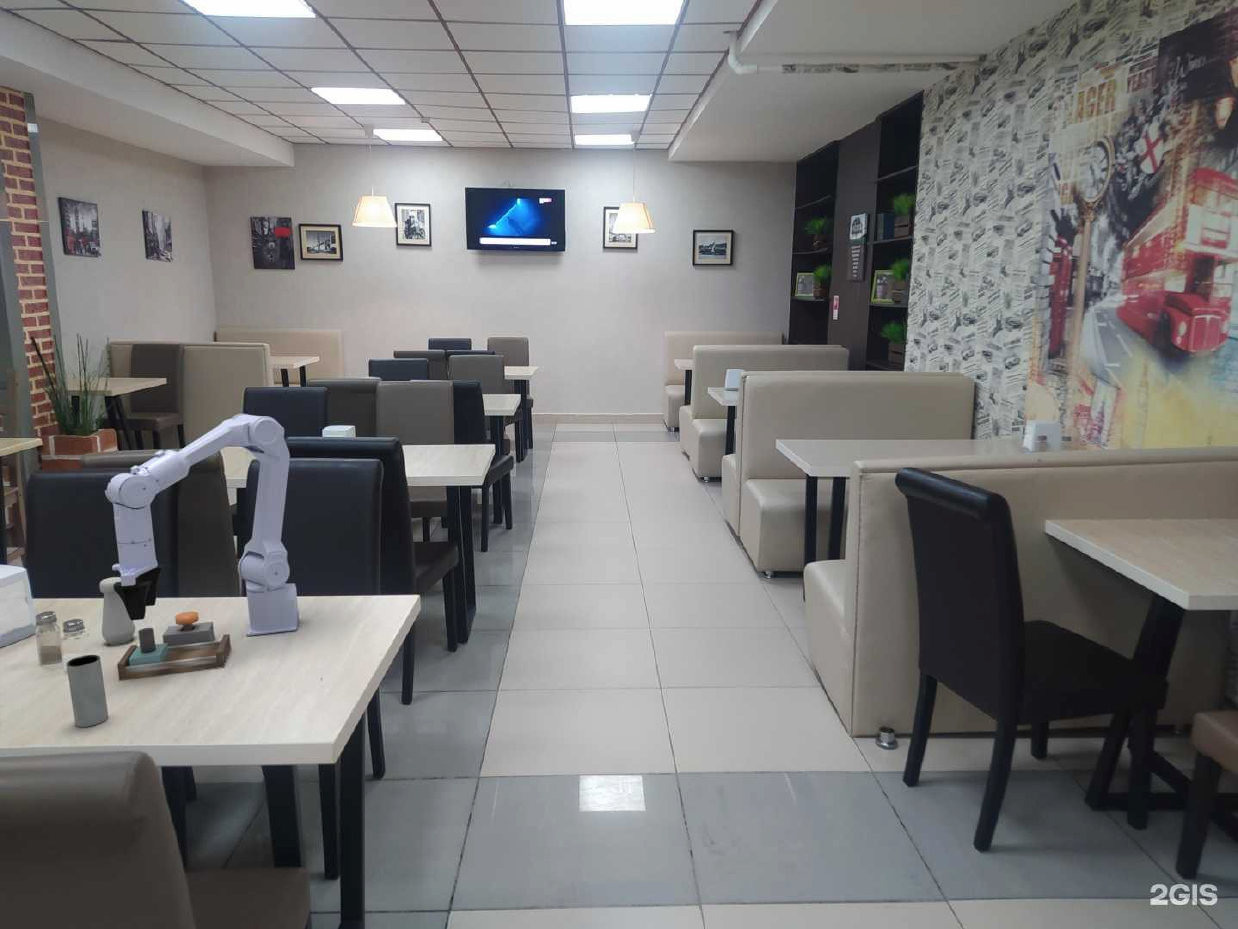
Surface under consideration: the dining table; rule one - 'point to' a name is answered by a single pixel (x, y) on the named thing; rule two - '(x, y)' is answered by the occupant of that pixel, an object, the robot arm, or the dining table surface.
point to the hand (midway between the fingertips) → (143, 612)
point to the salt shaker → (115, 615)
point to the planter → (87, 690)
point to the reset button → (187, 620)
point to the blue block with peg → (148, 649)
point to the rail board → (178, 659)
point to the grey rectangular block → (189, 634)
